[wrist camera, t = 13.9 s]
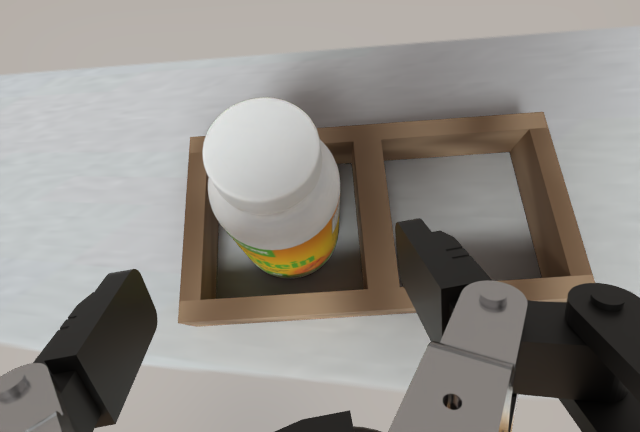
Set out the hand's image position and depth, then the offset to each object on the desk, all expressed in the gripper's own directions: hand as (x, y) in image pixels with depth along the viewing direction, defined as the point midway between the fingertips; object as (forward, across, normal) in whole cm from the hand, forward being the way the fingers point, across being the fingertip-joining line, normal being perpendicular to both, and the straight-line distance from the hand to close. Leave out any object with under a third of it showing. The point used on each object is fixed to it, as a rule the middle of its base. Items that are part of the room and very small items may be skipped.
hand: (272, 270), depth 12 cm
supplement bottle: (+9, 0, +4) cm, 10 cm away
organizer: (+9, -5, +4) cm, 11 cm away
